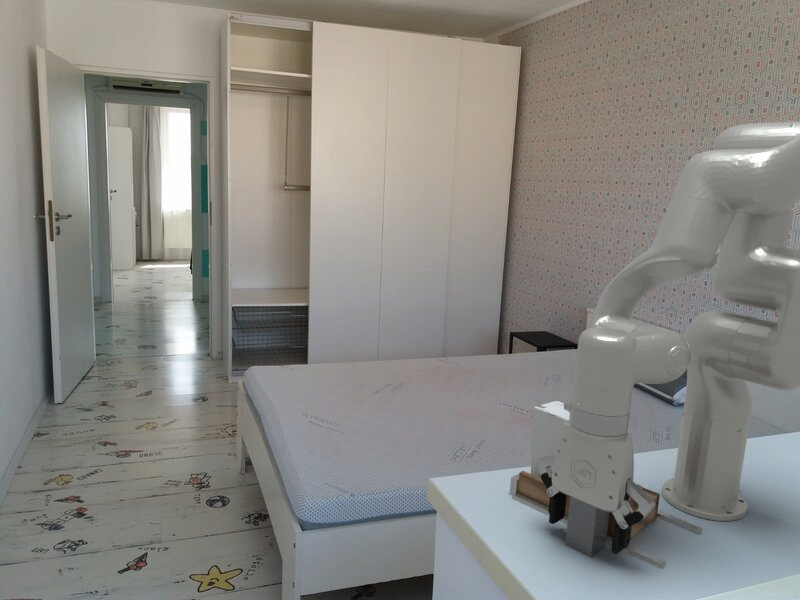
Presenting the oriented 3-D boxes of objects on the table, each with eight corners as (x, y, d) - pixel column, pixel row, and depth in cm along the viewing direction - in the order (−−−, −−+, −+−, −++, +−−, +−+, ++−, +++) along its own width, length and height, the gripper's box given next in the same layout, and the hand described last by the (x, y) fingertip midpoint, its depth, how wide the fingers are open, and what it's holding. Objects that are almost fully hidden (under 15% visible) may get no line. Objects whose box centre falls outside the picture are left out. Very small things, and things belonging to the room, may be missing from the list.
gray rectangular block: (579, 536, 92) (585, 485, 91) (605, 548, 90) (611, 495, 88) (565, 546, 90) (570, 493, 88) (590, 559, 87) (596, 505, 85)
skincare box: (589, 502, 102) (599, 415, 99) (563, 511, 99) (573, 421, 96) (551, 480, 109) (559, 398, 106) (525, 488, 106) (533, 404, 103)
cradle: (554, 475, 111) (557, 443, 109) (656, 518, 98) (661, 481, 97) (517, 495, 103) (520, 460, 102) (622, 544, 90) (627, 505, 89)
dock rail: (552, 471, 112) (554, 455, 112) (702, 533, 95) (704, 514, 94) (506, 496, 103) (507, 479, 102) (662, 570, 85) (664, 549, 84)
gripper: (529, 407, 89) (519, 518, 93) (649, 448, 77) (632, 574, 81) (558, 396, 95) (548, 502, 98) (674, 432, 82) (658, 552, 86)
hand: (586, 534), depth 89 cm, fingers open, 9 cm apart
